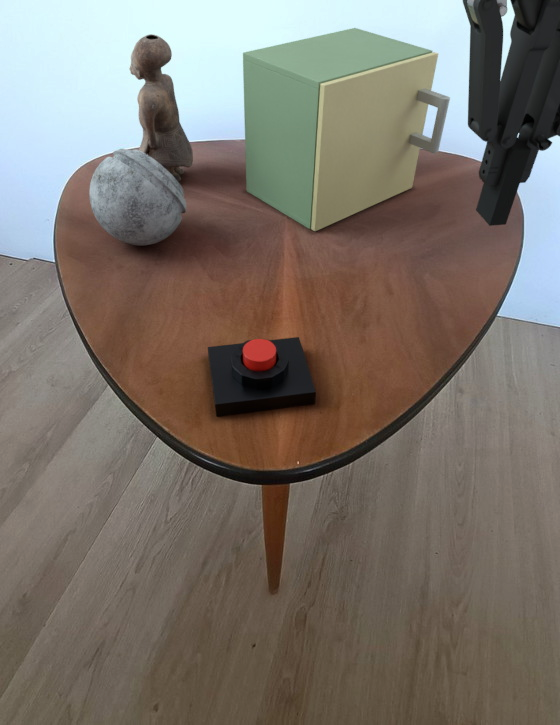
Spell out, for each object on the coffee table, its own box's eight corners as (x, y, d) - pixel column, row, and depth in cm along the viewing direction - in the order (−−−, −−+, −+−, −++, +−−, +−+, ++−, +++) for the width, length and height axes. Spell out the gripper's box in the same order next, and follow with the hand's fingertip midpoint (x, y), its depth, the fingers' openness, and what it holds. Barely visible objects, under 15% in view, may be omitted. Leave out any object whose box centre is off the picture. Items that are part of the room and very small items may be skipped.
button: (273, 347, 69) (273, 336, 68) (278, 369, 66) (278, 359, 65) (241, 351, 68) (240, 340, 67) (245, 373, 66) (245, 363, 64)
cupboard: (407, 186, 108) (432, 50, 92) (309, 229, 96) (319, 82, 79) (342, 155, 118) (354, 27, 101) (246, 191, 106) (242, 52, 89)
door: (436, 199, 105) (467, 61, 88) (338, 246, 92) (354, 96, 76) (408, 185, 108) (433, 51, 92) (310, 229, 96) (320, 83, 79)
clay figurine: (153, 162, 114) (132, 24, 97) (200, 164, 114) (188, 26, 96) (135, 191, 105) (109, 44, 87) (187, 195, 104) (171, 47, 87)
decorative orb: (206, 238, 94) (198, 151, 83) (137, 274, 86) (119, 183, 75) (151, 208, 101) (137, 124, 90) (82, 239, 93) (59, 151, 82)
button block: (298, 349, 74) (299, 326, 71) (315, 404, 67) (317, 381, 64) (208, 359, 72) (206, 336, 70) (216, 416, 65) (214, 393, 63)
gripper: (536, -159, 28) (435, 246, 44) (759, -154, 30) (583, 233, 46) (472, -162, 33) (404, 201, 49) (665, -158, 35) (537, 191, 51)
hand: (490, 216), depth 48 cm, fingers closed
